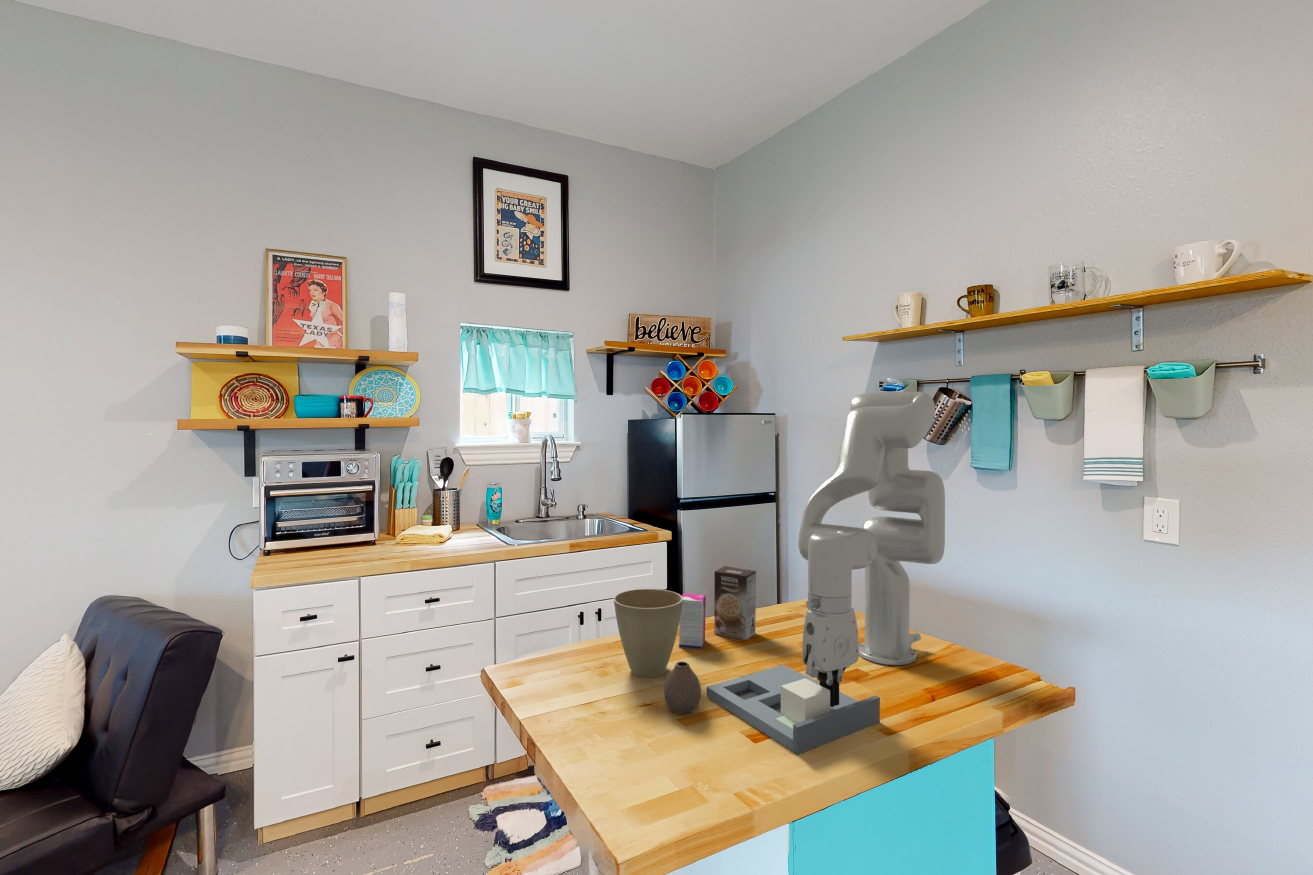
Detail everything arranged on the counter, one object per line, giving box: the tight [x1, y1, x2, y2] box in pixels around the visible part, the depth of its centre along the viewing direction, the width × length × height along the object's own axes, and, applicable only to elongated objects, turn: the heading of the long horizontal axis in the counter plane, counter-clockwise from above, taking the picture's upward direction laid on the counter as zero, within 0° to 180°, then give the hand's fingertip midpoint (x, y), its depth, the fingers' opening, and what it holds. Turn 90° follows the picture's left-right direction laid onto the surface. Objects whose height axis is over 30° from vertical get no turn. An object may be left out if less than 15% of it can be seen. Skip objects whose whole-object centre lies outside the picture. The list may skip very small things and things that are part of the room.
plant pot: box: [613, 588, 683, 678], centre depth 137 cm, size 15×15×16 cm
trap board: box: [706, 664, 881, 755], centre depth 118 cm, size 20×25×4 cm
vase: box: [663, 661, 702, 716], centre depth 118 cm, size 7×7×9 cm
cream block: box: [781, 678, 830, 723], centre depth 111 cm, size 6×6×5 cm
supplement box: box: [678, 593, 707, 649], centre depth 152 cm, size 6×6×12 cm
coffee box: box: [713, 565, 757, 641], centre depth 159 cm, size 9×6×16 cm
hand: (829, 702), depth 114 cm, fingers closed
